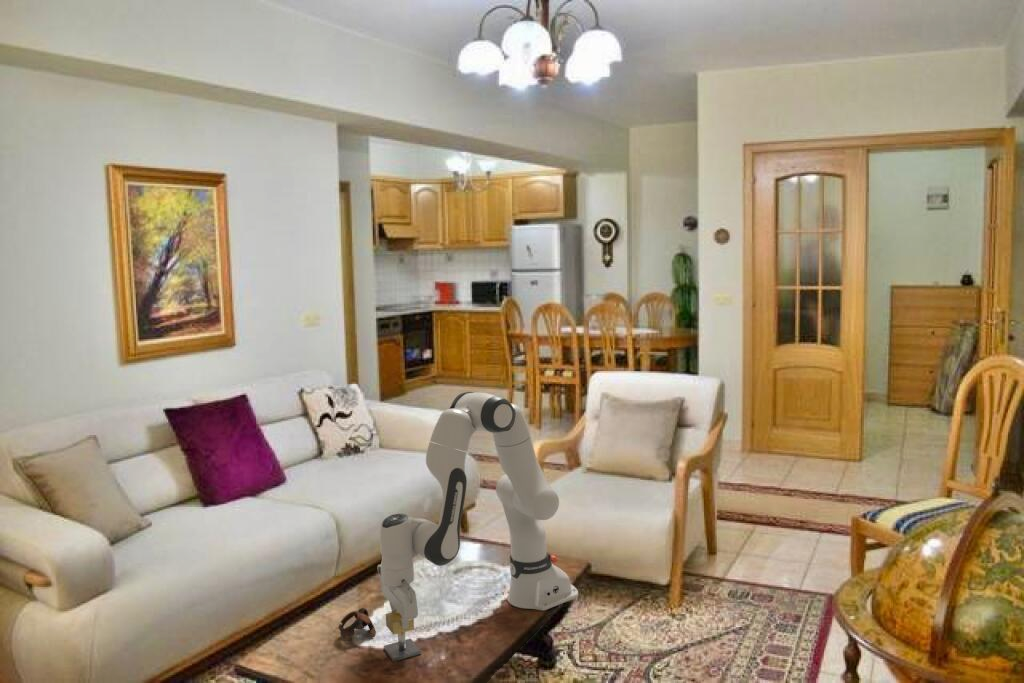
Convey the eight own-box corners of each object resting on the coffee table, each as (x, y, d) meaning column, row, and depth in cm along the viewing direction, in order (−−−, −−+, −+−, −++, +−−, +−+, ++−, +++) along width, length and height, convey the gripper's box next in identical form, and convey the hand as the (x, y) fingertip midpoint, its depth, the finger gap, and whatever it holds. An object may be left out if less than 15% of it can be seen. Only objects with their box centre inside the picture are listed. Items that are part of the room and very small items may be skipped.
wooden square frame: (406, 620, 231) (406, 608, 231) (414, 629, 226) (413, 617, 226) (386, 625, 229) (385, 613, 228) (393, 634, 223) (392, 622, 223)
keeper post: (410, 641, 234) (409, 621, 233) (421, 654, 227) (420, 633, 226) (383, 649, 230) (382, 628, 229) (393, 661, 223) (392, 641, 222)
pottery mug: (375, 644, 234) (359, 624, 231) (347, 657, 236) (331, 637, 233) (382, 615, 245) (367, 596, 242) (356, 627, 247) (340, 608, 244)
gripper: (422, 585, 218) (424, 634, 219) (396, 559, 236) (398, 605, 237) (399, 590, 215) (402, 640, 217) (375, 563, 233) (377, 610, 235)
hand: (400, 621), depth 227 cm, fingers closed on wooden square frame, 6 cm apart
